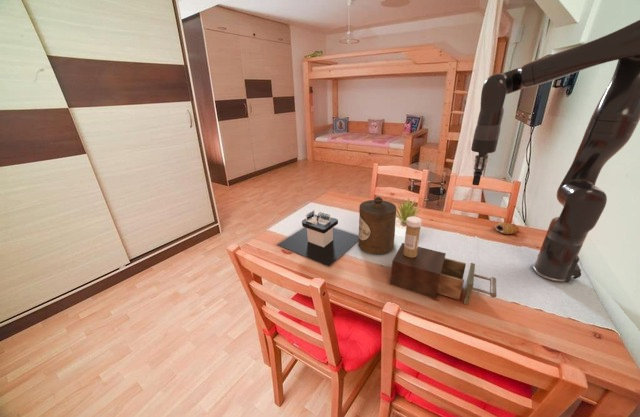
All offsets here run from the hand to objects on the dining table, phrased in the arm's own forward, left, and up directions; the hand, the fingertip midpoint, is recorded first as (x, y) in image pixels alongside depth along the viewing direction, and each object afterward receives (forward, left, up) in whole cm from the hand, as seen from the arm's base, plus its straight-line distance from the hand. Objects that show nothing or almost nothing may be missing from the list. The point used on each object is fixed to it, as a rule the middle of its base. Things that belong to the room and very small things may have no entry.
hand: (475, 184), depth 98 cm
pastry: (-16, -22, -27) cm, 38 cm away
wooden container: (+32, +16, -27) cm, 45 cm away
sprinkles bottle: (+15, +31, -18) cm, 39 cm away
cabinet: (+12, +31, -27) cm, 43 cm away
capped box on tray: (+55, +24, -27) cm, 66 cm away
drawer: (-1, +31, -26) cm, 41 cm away
